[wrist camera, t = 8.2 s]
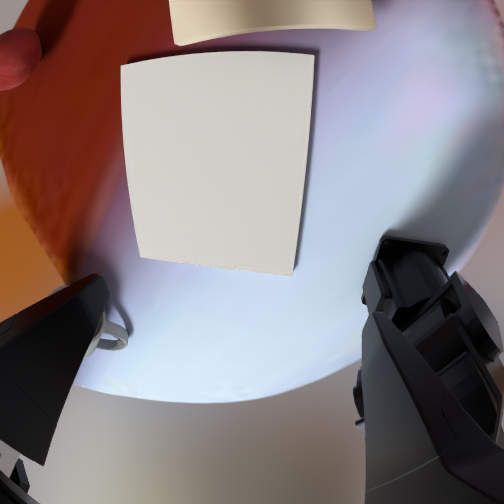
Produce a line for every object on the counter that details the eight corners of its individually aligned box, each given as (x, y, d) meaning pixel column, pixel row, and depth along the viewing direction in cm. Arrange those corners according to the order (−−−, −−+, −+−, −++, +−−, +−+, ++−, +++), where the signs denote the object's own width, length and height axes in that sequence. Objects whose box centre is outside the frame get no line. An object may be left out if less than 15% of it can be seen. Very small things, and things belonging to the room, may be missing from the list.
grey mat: (313, 56, 13) (314, 55, 13) (292, 271, 22) (292, 276, 21) (125, 66, 15) (120, 65, 14) (143, 253, 23) (140, 257, 23)
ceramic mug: (63, 307, 31) (34, 346, 25) (67, 272, 27) (29, 316, 21) (124, 349, 33) (102, 393, 27) (138, 322, 29) (111, 374, 23)
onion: (18, 75, 15) (-44, 90, 8) (38, 23, 12) (-26, 27, 5) (44, 91, 16) (-25, 109, 9) (67, 34, 13) (-5, 35, 6)
